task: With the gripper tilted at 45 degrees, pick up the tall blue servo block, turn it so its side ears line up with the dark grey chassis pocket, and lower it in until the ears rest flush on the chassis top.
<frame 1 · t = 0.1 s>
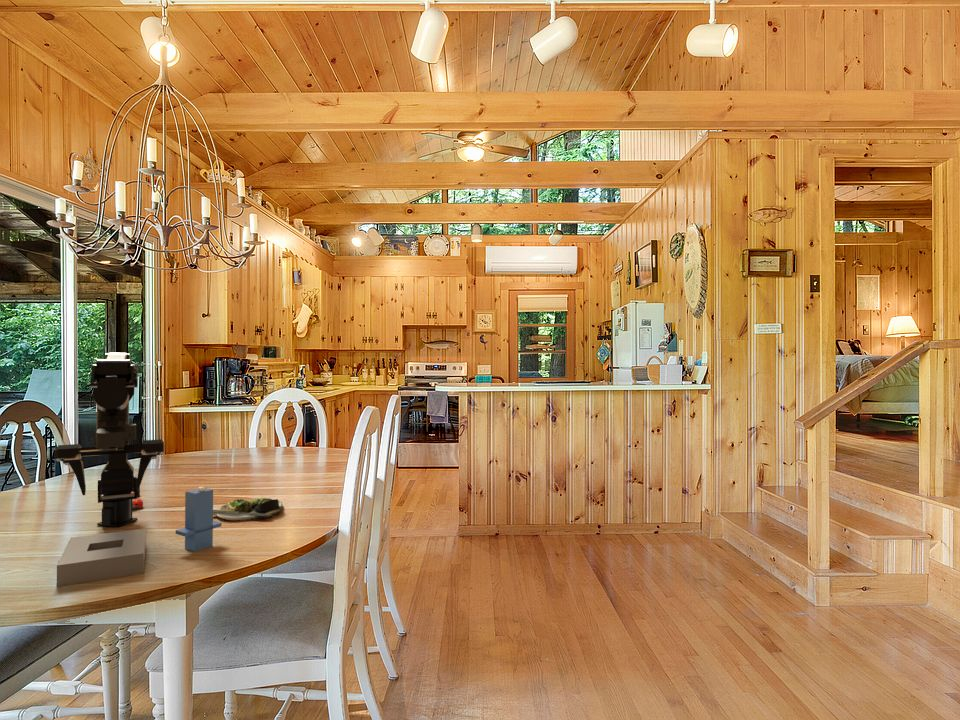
hand: (111, 492, 115), 15 cm above the table, tool pointing down, fingers open, 9 cm apart
chassis: (105, 564, 116), on the table
salad plate: (252, 514, 156), on the table
servo: (198, 547, 127), on the table
race car: (128, 507, 161), on the table
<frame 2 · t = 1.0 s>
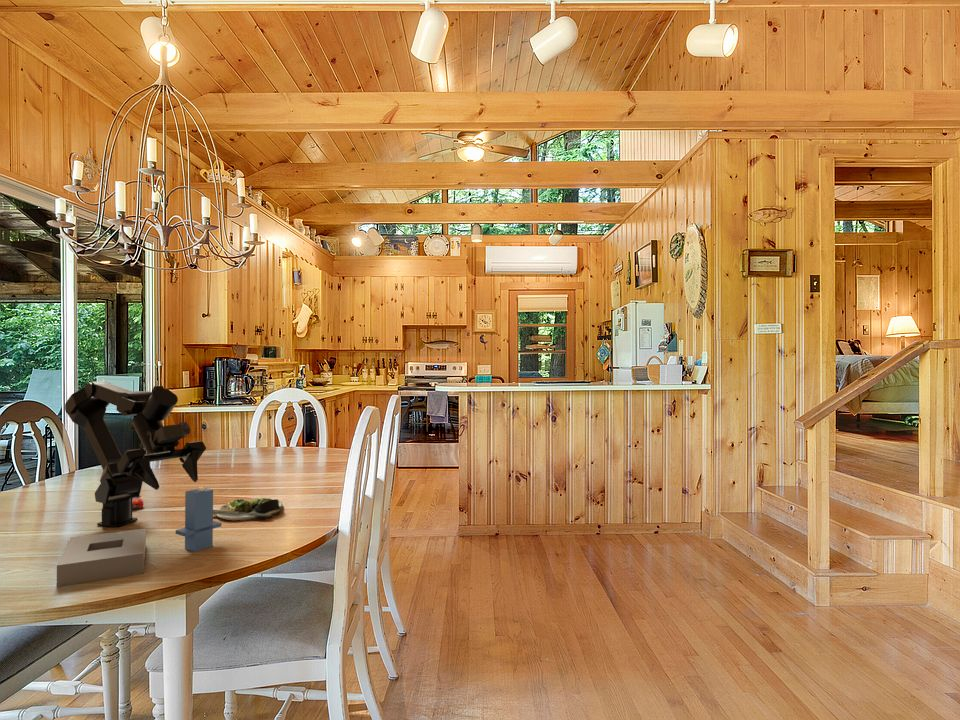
hand: (177, 484, 131), 13 cm above the table, tool tilted 45°, fingers open, 9 cm apart
nothing on the table moved.
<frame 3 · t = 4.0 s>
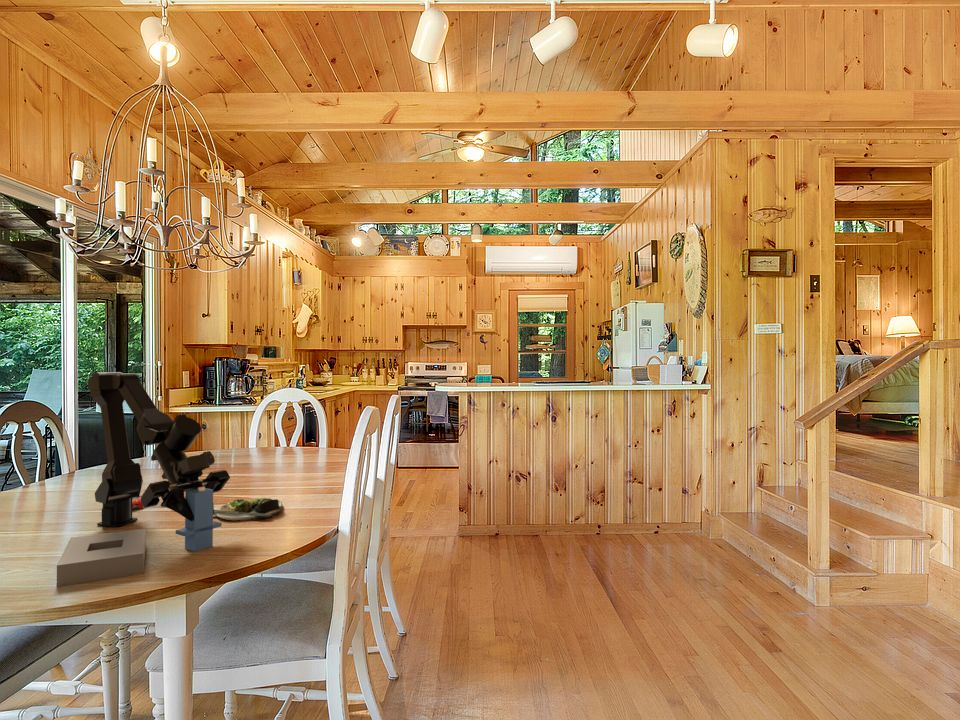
hand: (202, 517, 126), 7 cm above the table, tool tilted 45°, fingers closed on servo, 4 cm apart
servo: (198, 547, 127), on the table, touching gripper
everything else where it was.
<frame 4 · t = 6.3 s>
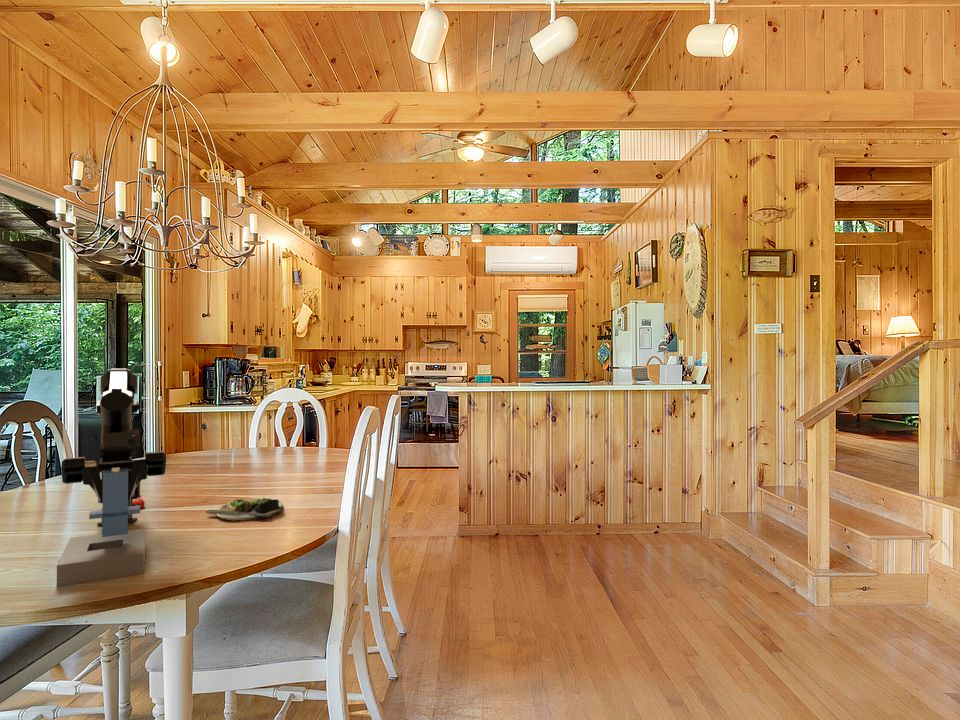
hand: (115, 500, 116), 13 cm above the table, tool tilted 45°, fingers closed on servo, 4 cm apart
servo: (115, 533, 117), point 6 cm above the table, touching gripper
everything else where it was.
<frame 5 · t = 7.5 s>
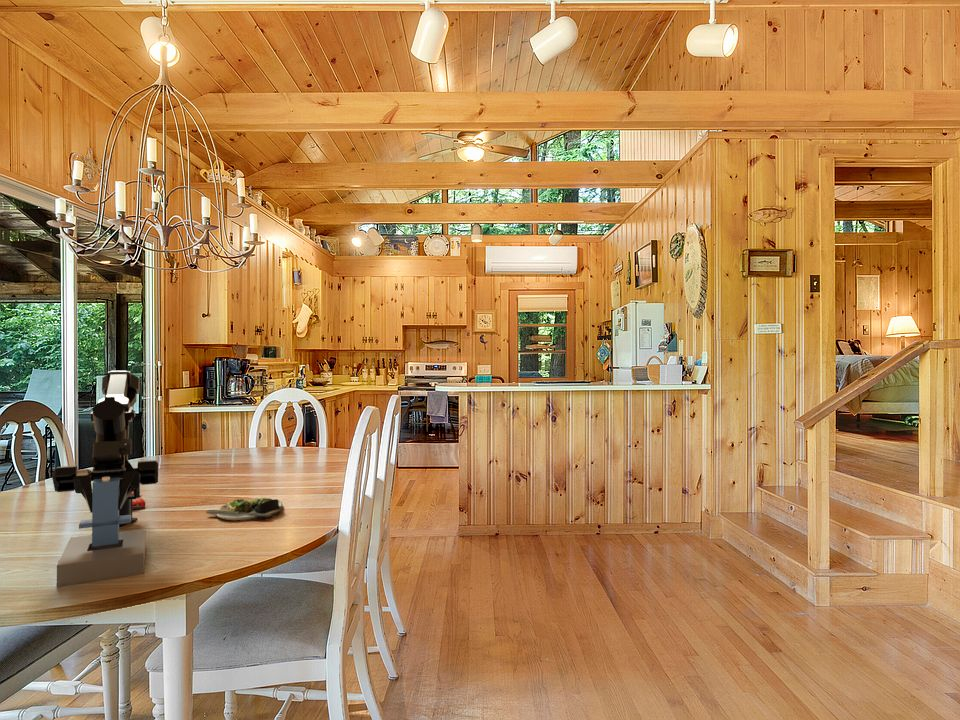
hand: (105, 510, 115), 12 cm above the table, tool tilted 45°, fingers closed on servo, 4 cm apart
servo: (105, 542, 116), point 5 cm above the table, touching gripper
everything else where it was.
when the fingers open (7 cm above the table, at t = 8.7 s): servo stays where it is, resting on chassis.
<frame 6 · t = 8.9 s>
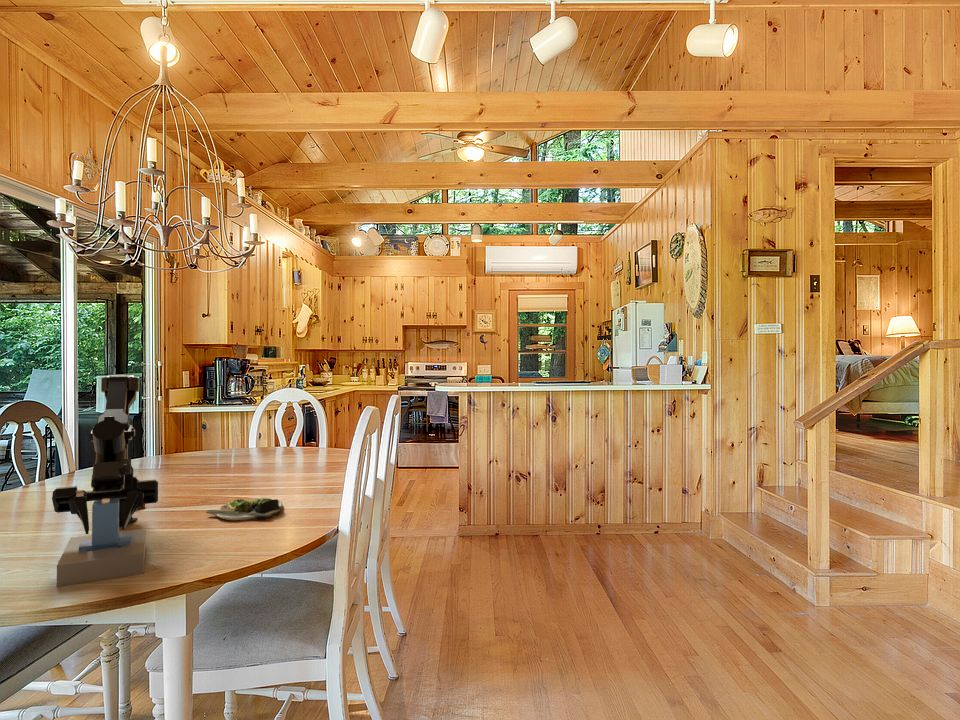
hand: (105, 531, 115), 7 cm above the table, tool tilted 45°, fingers open, 6 cm apart
servo: (105, 564, 116), resting on chassis
everything else where it was.
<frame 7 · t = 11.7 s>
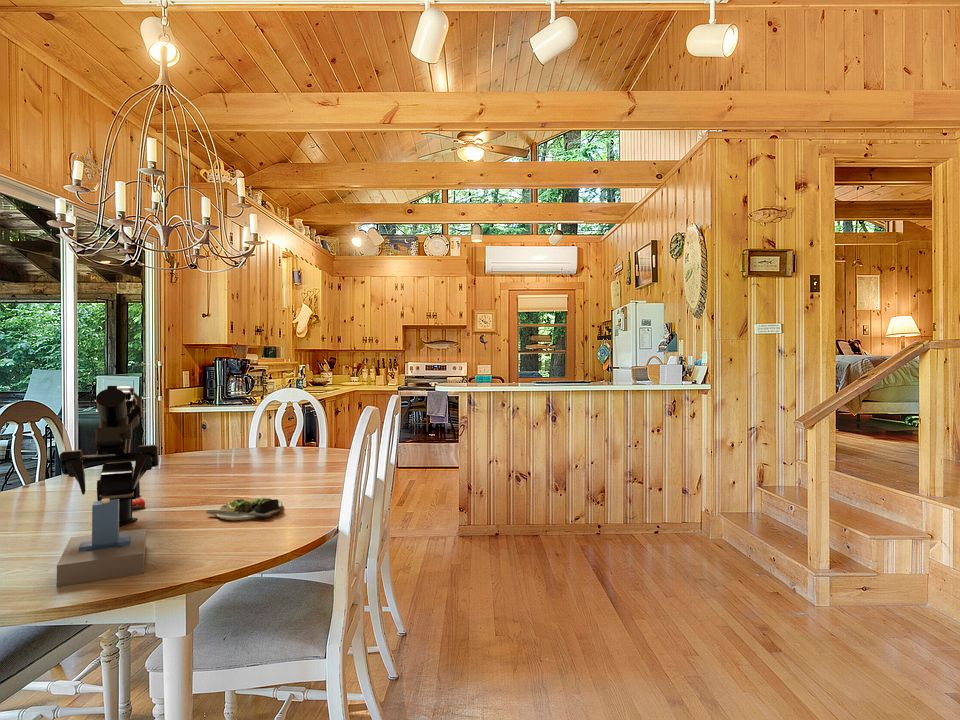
hand: (108, 491, 123), 14 cm above the table, tool tilted 45°, fingers open, 9 cm apart
nothing on the table moved.
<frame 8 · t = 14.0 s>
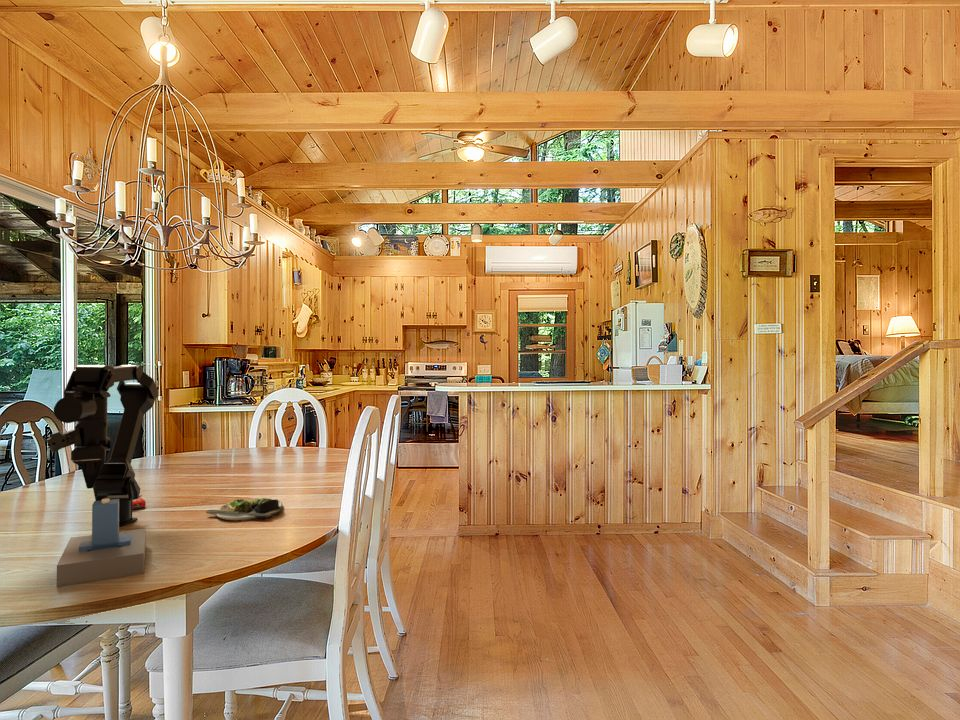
hand: (92, 484, 132), 13 cm above the table, tool pointing down, fingers open, 9 cm apart
nothing on the table moved.
at the end: servo 0.0 cm off-centre on the chassis, point 0.0 cm above the chassis's base; servo tilted 0°; the gripper is holding nothing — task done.
